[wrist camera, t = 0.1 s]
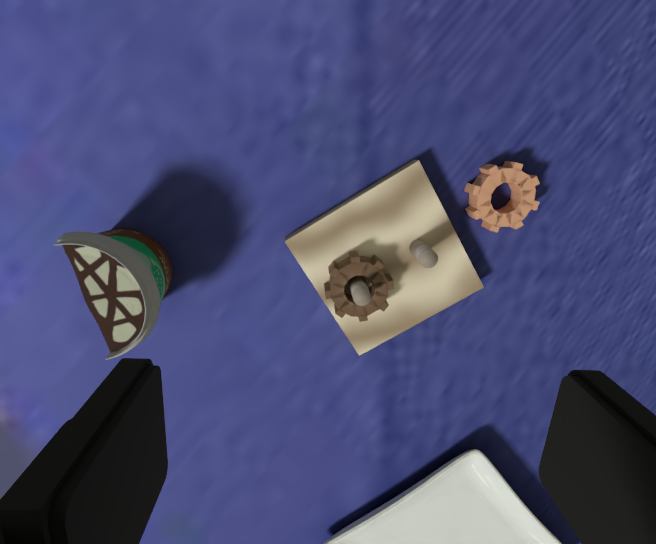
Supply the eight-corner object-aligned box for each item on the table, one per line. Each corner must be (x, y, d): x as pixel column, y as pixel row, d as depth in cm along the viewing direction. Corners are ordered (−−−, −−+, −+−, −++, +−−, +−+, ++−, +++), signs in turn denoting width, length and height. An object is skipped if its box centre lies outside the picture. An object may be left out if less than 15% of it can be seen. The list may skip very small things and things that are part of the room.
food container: (198, 307, 49) (172, 350, 39) (147, 319, 49) (108, 364, 39) (161, 203, 45) (121, 222, 35) (105, 216, 45) (50, 239, 35)
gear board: (285, 236, 46) (282, 252, 40) (414, 159, 44) (431, 163, 38) (357, 347, 51) (364, 376, 45) (477, 281, 49) (501, 302, 43)
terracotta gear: (452, 183, 45) (460, 186, 43) (513, 147, 44) (524, 148, 42) (480, 239, 47) (488, 244, 45) (539, 205, 47) (551, 209, 44)
